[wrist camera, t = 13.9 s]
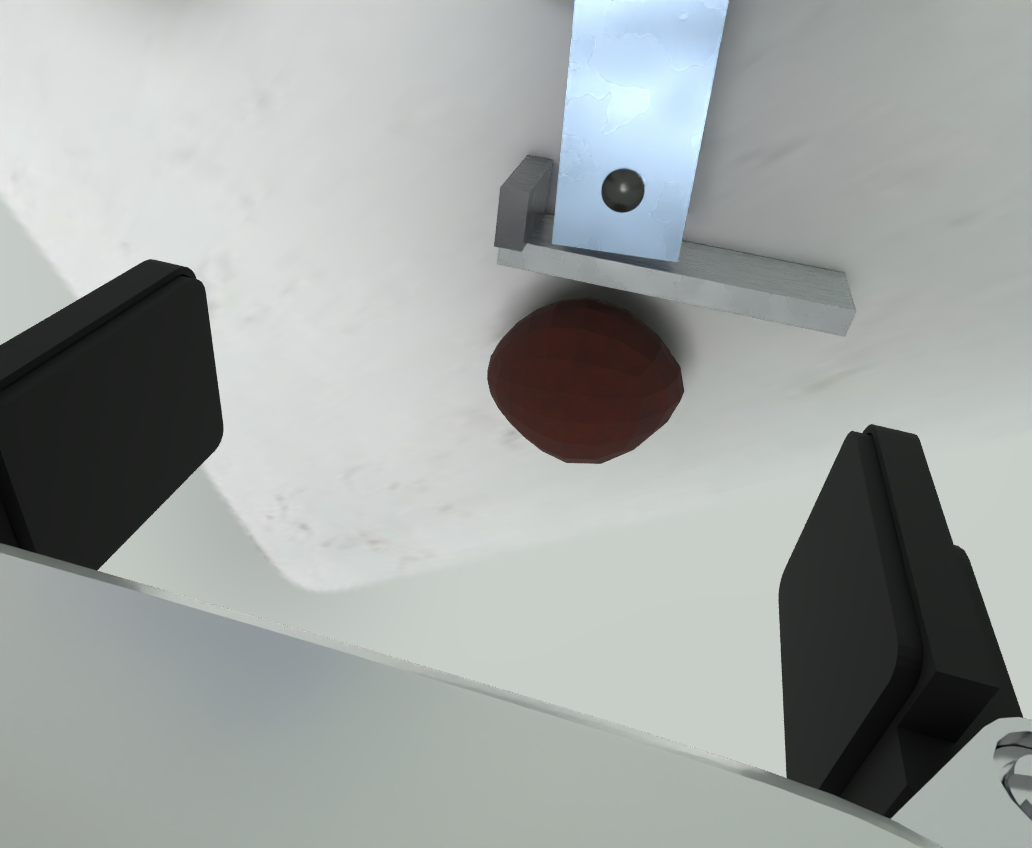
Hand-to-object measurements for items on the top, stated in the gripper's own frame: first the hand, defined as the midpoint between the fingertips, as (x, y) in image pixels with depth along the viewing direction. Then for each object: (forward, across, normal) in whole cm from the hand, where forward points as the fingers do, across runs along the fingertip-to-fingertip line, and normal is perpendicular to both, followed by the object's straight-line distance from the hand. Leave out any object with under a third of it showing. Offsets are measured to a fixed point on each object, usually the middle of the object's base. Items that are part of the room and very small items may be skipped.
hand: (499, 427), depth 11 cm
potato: (+26, 0, +12) cm, 29 cm away
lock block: (+26, +1, 0) cm, 26 cm away
